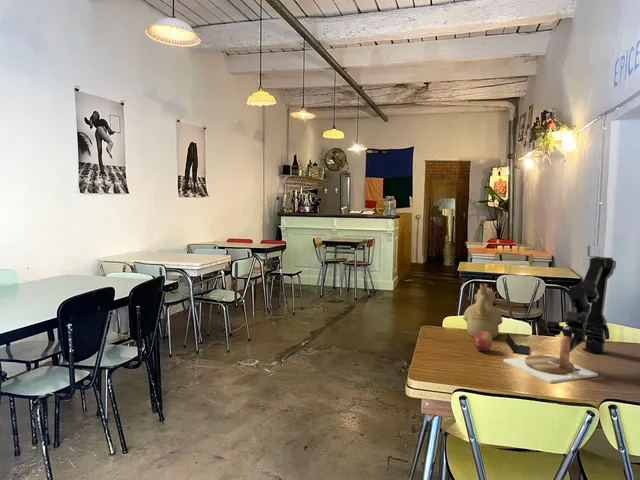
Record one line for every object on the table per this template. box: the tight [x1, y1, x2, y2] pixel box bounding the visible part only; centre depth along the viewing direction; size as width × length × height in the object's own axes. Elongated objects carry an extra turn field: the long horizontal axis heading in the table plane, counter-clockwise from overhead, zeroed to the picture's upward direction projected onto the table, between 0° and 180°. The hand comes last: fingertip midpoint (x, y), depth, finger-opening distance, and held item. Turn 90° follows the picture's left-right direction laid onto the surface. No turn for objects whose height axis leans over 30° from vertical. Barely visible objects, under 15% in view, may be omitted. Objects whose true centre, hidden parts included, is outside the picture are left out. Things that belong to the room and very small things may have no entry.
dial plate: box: [502, 353, 599, 384], centre depth 168 cm, size 22×22×1 cm
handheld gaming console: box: [504, 332, 531, 356], centre depth 189 cm, size 12×7×10 cm
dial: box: [525, 335, 575, 374], centre depth 167 cm, size 16×16×12 cm
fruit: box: [472, 331, 493, 352], centre depth 187 cm, size 8×8×8 cm
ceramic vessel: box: [462, 283, 503, 339], centre depth 209 cm, size 17×20×25 cm
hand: (569, 351), depth 162 cm, fingers closed, pressing on dial
